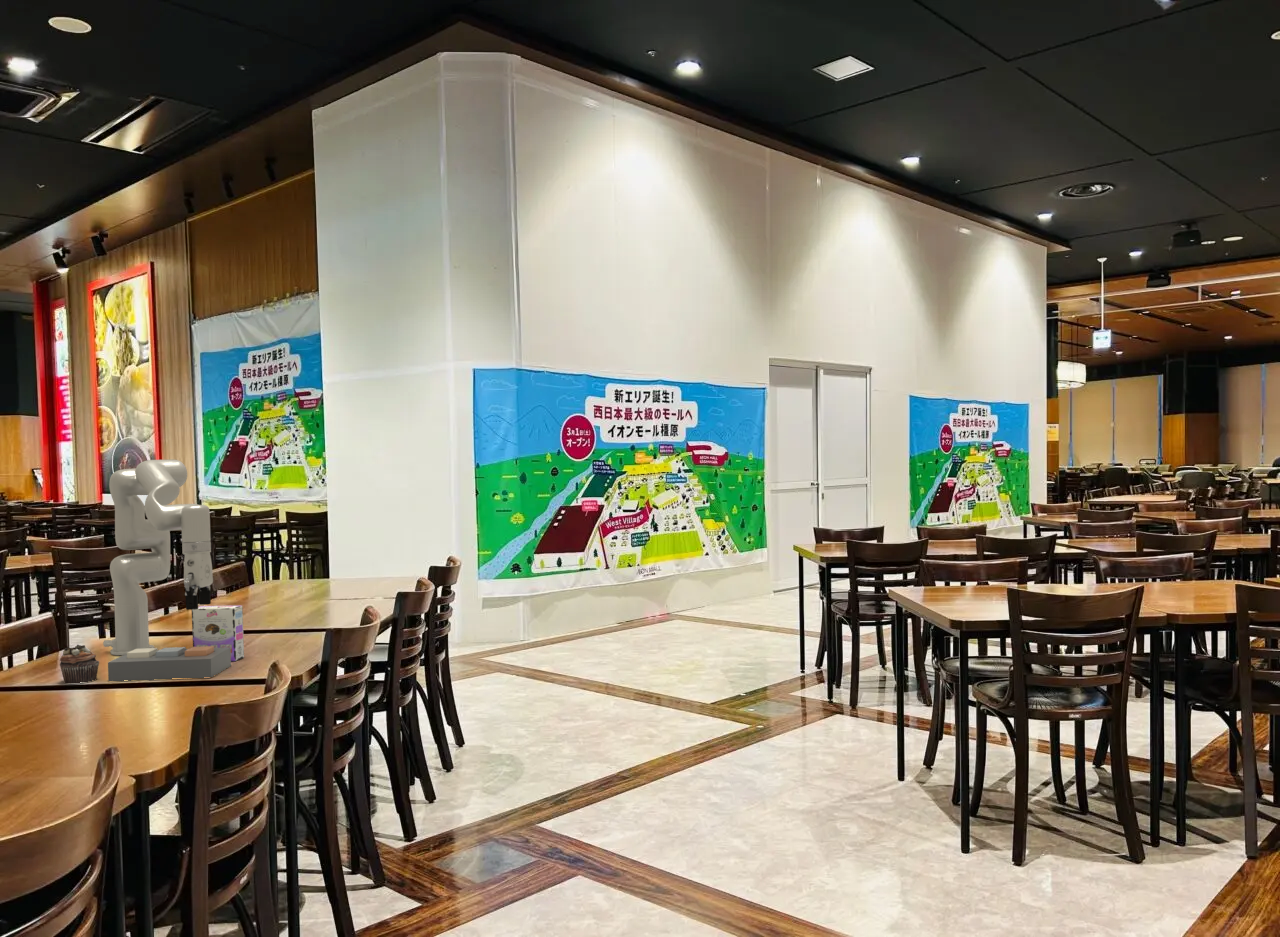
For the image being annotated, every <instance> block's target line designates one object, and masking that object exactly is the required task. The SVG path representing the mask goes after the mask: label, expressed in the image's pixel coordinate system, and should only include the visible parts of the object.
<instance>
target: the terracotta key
mask: <svg viewBox="0 0 1280 937" xmlns="http://www.w3.org/2000/svg"><path fill="white" fill-rule="evenodd" d="M187 649H188V650H186V651H185V656H207V655H209V654H211V653H213V652H214V646H203V647H193V646H191V647H190V648H187Z"/></svg>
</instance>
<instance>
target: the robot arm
mask: <svg viewBox="0 0 1280 937" xmlns="http://www.w3.org/2000/svg"><path fill="white" fill-rule="evenodd" d="M187 479H188V469H187V467H186V465H185V464H184V463H183V462H182V461H181V460H179V459H148V460H144V461H142V462H140V463H138V464H137V465H136V468H124V469H119V470H118V469H117V470H116V471H114V472H113V473H111V476H110V478H109V482H108V485H109V486H108V487H109V492H110V496H111V499H112V502H113V505H114V531H115V534H114V537H115V538H114V539H115V544H116V546H117V548H119V549H120V550H125V551H131V550H132V551H133V550H134V551H135V550H144V549H145V550H147V549H151V551H150V552H137V553H126V554H121V555H118V556H116V557H114V558H113V559H112V560H111V561H110V564H109V572H110V577H111V581H112V587H113V599H114V600H113V601H114V602H113V604H114V627H115V628H114V631H115V635H114V636H115V637H114V638H113V639H112V640H111V639H104V640H103V643H102V645H103V647H104V648H106V647H107V648H109V647H111V648H112V649H110V651H109V652H110V655H112V656H123V655H125V654H127V653H128V652H130V651H132V650H134V649H143V648H155V645H153V644H150V638H149V636H150V634H149V632H150V631H149V630H150V629H149V602H148V601H149V599H148V594H147V592H146V591H145V589H143V588H142V587H141V586H140V584H141V583H149V582H158V581H163V580H165V579H167V577H168V576H169V575H170V572H171V571H170V570H171V533H170V532H171V531H172V532H173V531H181V544H182V545H181V547H182V548H181V549H182V555H184V559H183V560H184V562H183V564H184V565H183V580H184V581H183V585H184V591H185V592H184V596H185V609H186V610H187V611H192V610H194V609H198V607H199V605H200V606H207V605H211V602H212V601H211V598H212V597H211V588H212V587H211V585H212V584H213V582H214V576H213V564H212V556H211V553H212V543H211V539H212V538H211V517H210V515H211V512H210V508H209V506H208V505H205V504H198V503H183V504H182V503H181V504H171V503H172V502H173V503H174V501H175V500H177V498H178V497H179V495H180V492H181V490H180V488H181V487H182V486H184V485H185V483H186V481H187ZM139 496H146V498H145V501H144V502H143V501H142V500H141V498H140V497H139ZM146 518H147V519H146ZM197 593H198V594H197Z"/></svg>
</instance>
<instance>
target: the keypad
mask: <svg viewBox="0 0 1280 937" xmlns="http://www.w3.org/2000/svg"><path fill="white" fill-rule="evenodd" d="M188 649H189V648H186V650H188ZM159 650H160V649H158V651H159ZM231 666H232V661H231V647H230V648H214V652H213V653H211V654H209V655H207V656H185V653H184V654H182V655H181V656H179V657H156V655H154V656H152V657H150V658H127V654H125V655H120V656H119V657H116V658H114V659H112V660H110V661H108V662H107V678H108V680H107V681H121V682H125V681H124V680H128V681H127V682H132V681H131V680H149V681H155V680H154V679H172V678H204V677H213V676H214V675H216V674H217V675H219V674H221V673H222V672H224V671H225V670H227V669H228V668H230V667H231ZM226 668H227V669H226ZM223 670H224V671H223ZM221 671H222V672H221ZM218 673H219V674H218ZM217 675H216V676H217ZM214 677H215V676H214ZM214 677H213V678H214Z"/></svg>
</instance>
